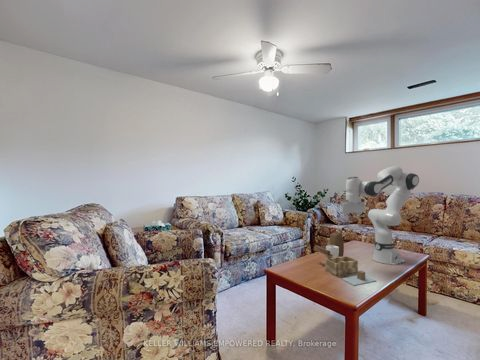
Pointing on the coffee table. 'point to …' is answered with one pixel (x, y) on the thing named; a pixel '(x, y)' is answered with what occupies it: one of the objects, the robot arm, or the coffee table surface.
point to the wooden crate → (340, 265)
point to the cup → (333, 250)
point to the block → (337, 242)
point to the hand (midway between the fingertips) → (352, 219)
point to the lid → (358, 279)
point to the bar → (322, 250)
